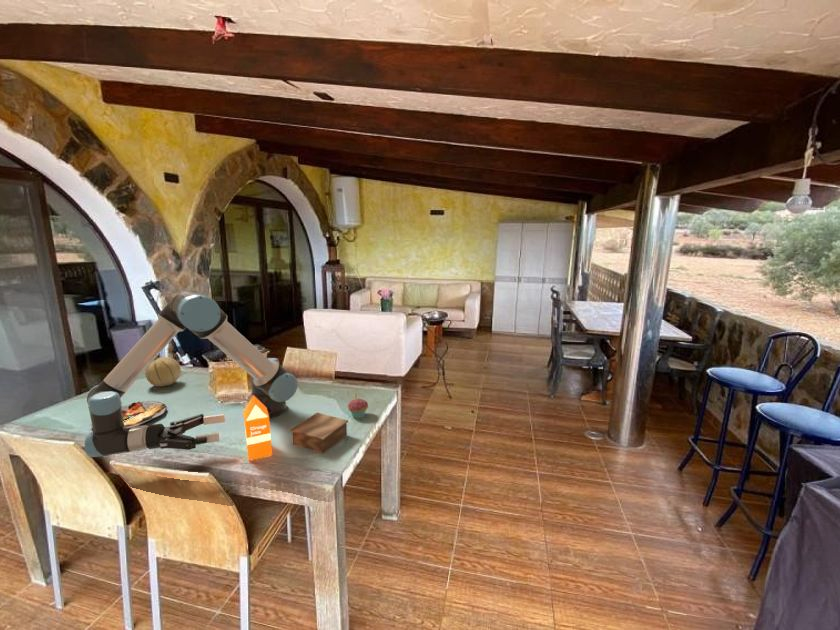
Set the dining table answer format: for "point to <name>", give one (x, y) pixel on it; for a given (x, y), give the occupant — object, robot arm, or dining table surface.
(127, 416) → the food plate
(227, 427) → the dining table surface
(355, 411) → the cupcake
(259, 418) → the orange juice
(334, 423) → the walnut riser
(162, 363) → the cantaloupe
